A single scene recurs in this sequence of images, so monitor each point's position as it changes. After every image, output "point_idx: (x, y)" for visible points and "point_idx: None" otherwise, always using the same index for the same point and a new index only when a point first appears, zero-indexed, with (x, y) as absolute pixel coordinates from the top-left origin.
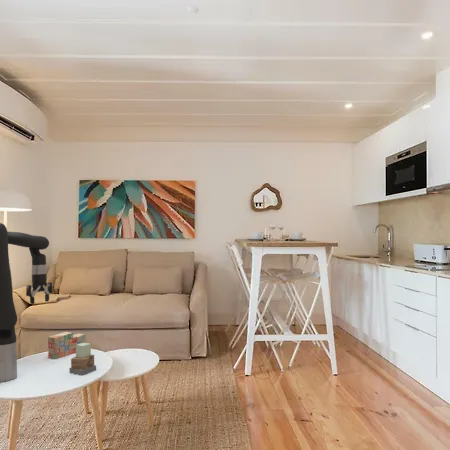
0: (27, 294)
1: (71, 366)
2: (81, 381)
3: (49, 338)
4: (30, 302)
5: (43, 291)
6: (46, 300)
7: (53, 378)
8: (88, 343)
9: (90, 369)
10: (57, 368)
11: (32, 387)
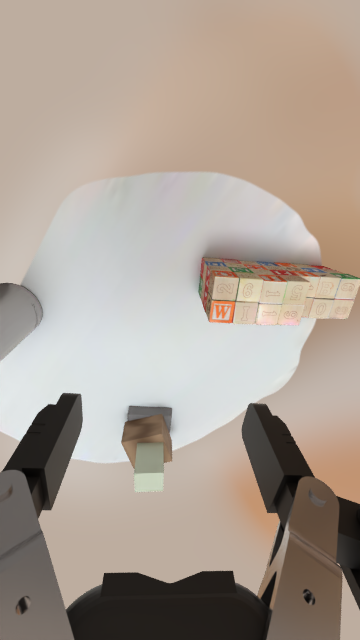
0: None
1: (124, 427)
2: (104, 455)
3: (212, 284)
4: (42, 413)
5: (282, 547)
6: (247, 428)
7: (85, 404)
8: (162, 486)
9: None
10: (139, 361)
11: (26, 408)
